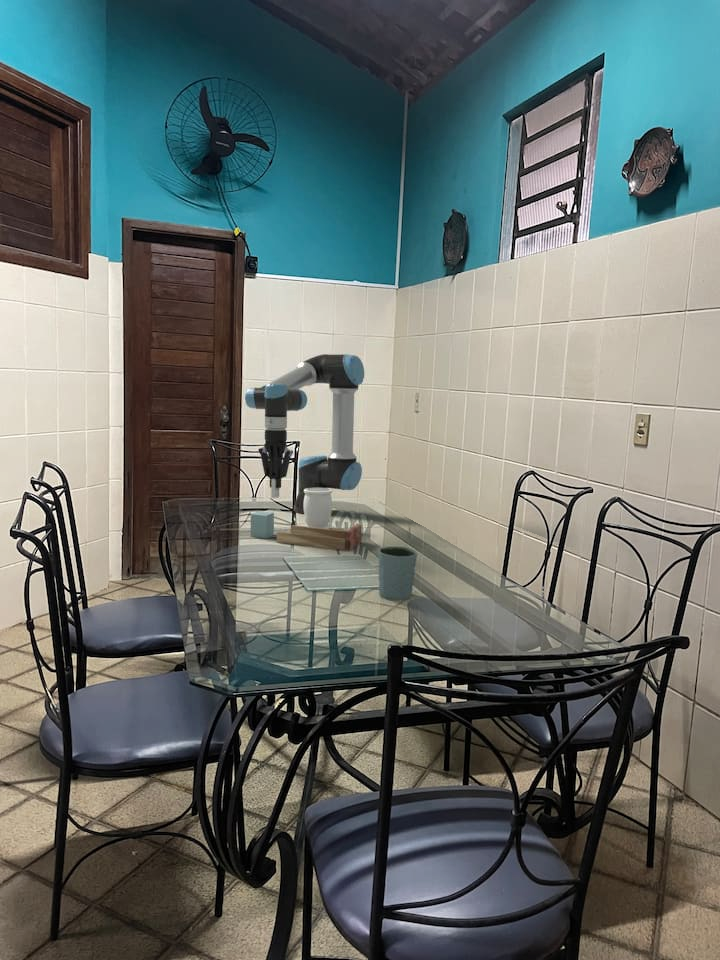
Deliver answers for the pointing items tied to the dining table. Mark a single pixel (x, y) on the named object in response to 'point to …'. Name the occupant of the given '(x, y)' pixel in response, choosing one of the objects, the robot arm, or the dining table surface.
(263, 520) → the block
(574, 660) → the dining table surface
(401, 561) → the blue-grey cup
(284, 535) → the trough
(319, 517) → the jar
